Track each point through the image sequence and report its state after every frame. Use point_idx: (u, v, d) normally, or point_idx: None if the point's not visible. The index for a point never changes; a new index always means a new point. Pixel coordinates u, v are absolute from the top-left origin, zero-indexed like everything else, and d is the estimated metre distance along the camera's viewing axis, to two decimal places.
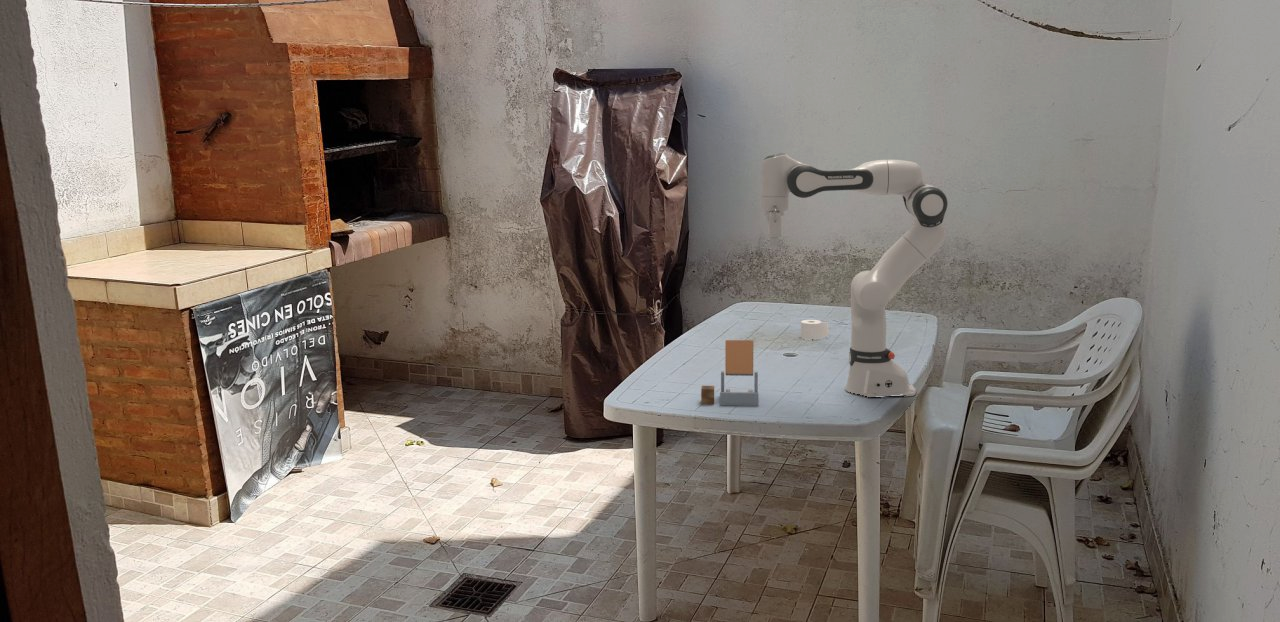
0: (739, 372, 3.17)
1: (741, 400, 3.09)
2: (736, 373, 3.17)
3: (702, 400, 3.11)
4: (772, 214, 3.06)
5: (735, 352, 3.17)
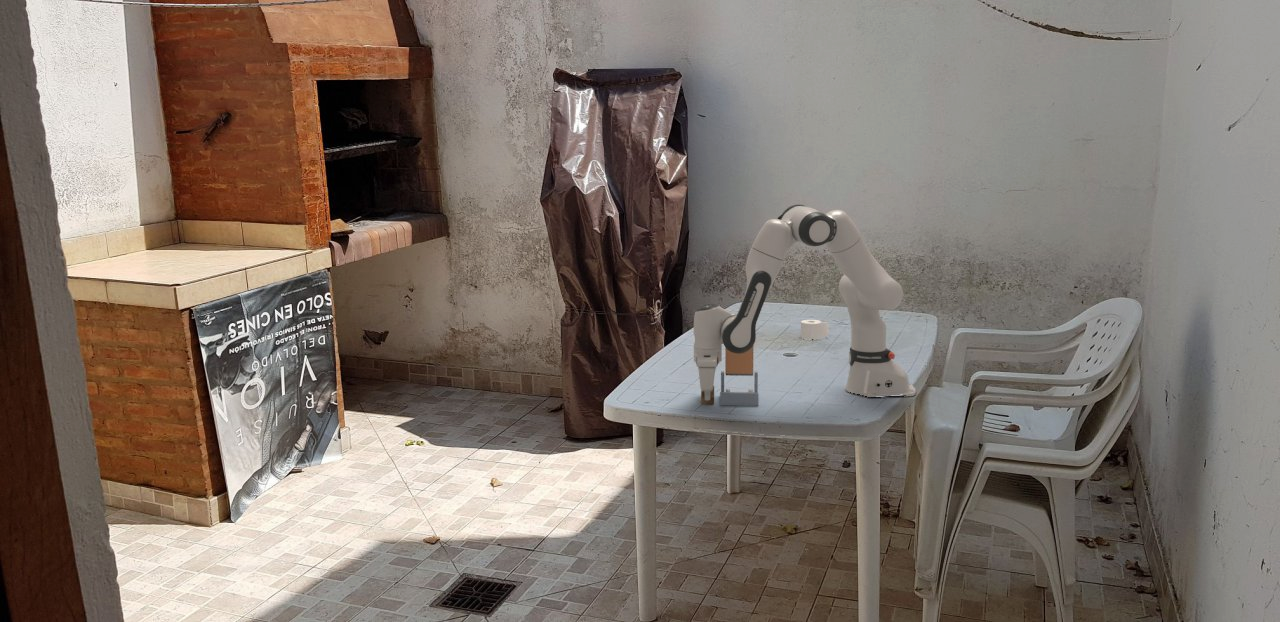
0: (739, 372, 3.17)
1: (741, 400, 3.09)
2: (736, 373, 3.17)
3: (702, 400, 3.11)
4: None
5: None
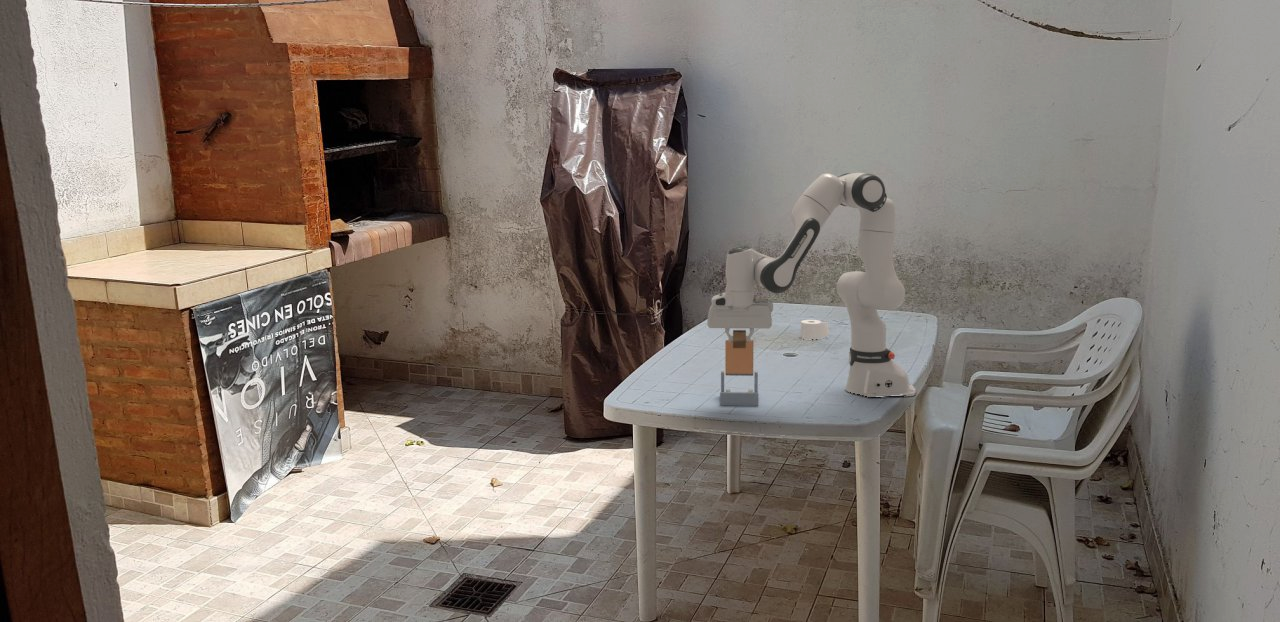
0: (739, 372, 3.17)
1: (741, 400, 3.09)
2: (736, 373, 3.17)
3: None
4: (767, 306, 3.05)
5: (735, 352, 3.17)
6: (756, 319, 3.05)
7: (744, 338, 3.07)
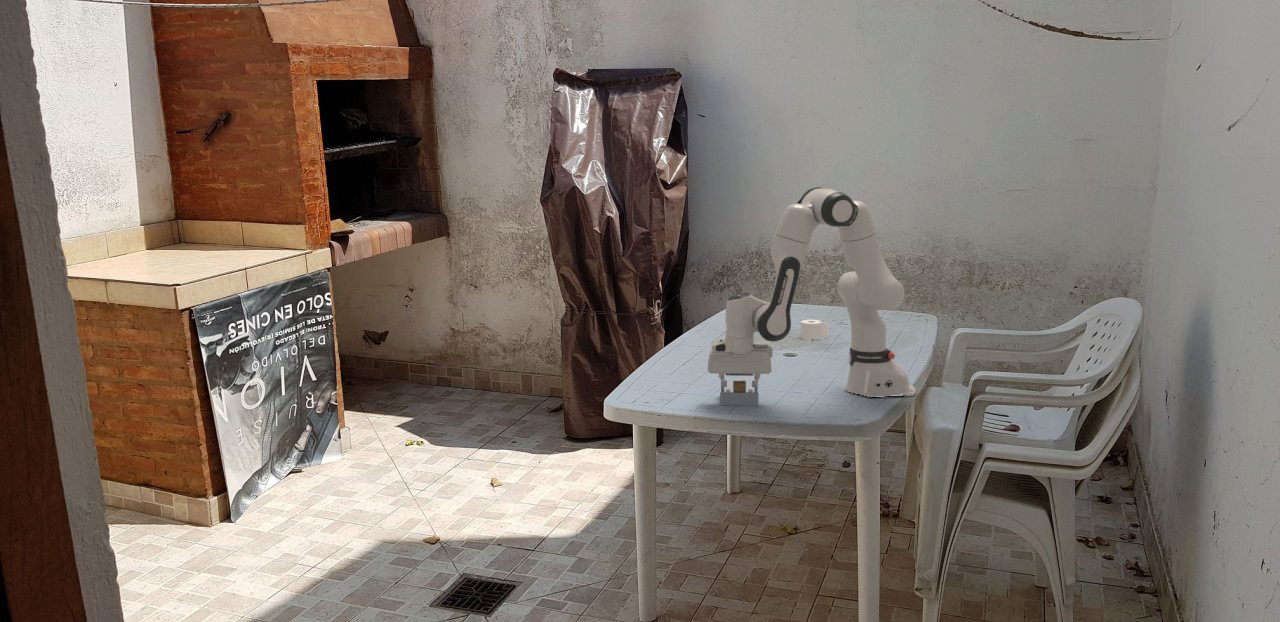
0: None
1: (741, 400, 3.09)
2: None
3: None
4: (767, 351, 3.08)
5: None
6: (756, 364, 3.08)
7: (744, 389, 3.10)
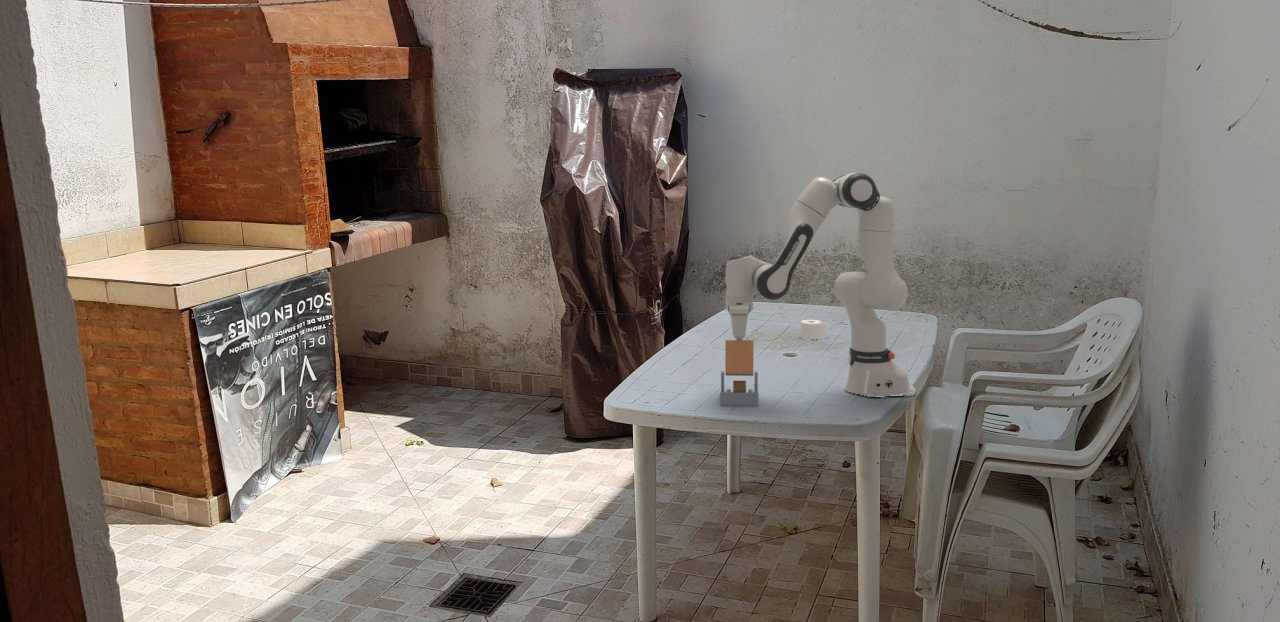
0: (739, 372, 3.17)
1: (741, 400, 3.09)
2: (736, 373, 3.17)
3: None
4: None
5: (735, 353, 3.17)
6: None
7: (744, 389, 3.10)
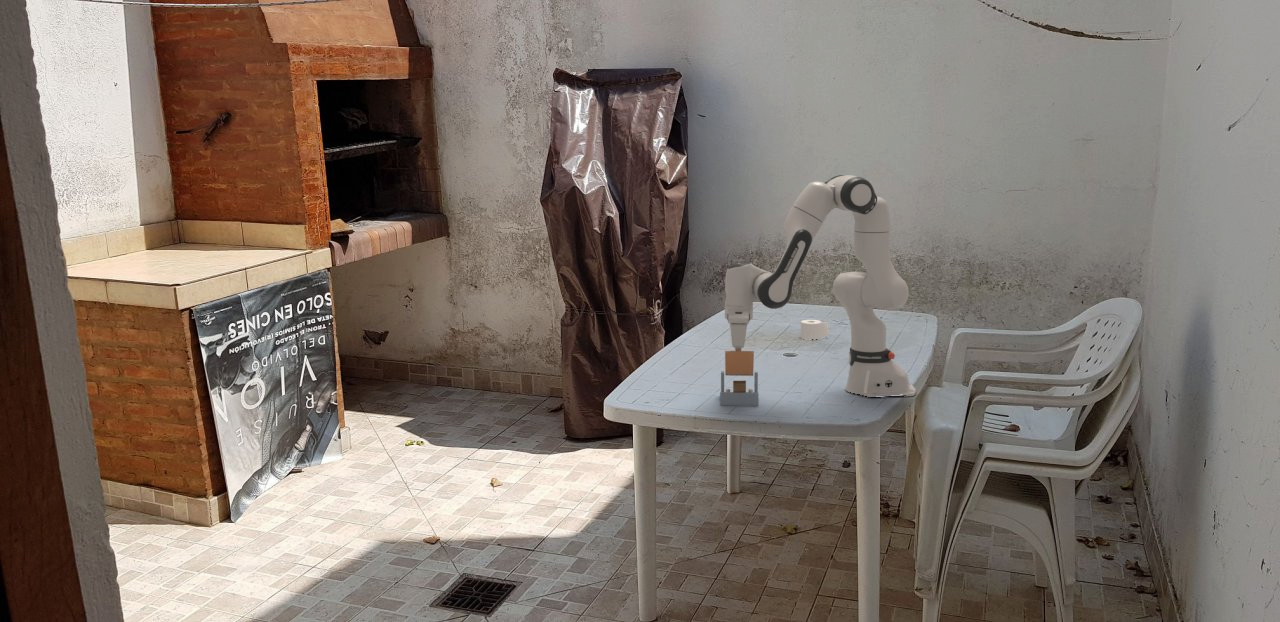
0: (739, 374, 3.17)
1: (741, 400, 3.09)
2: (736, 374, 3.17)
3: None
4: None
5: (735, 361, 3.12)
6: None
7: (744, 389, 3.10)
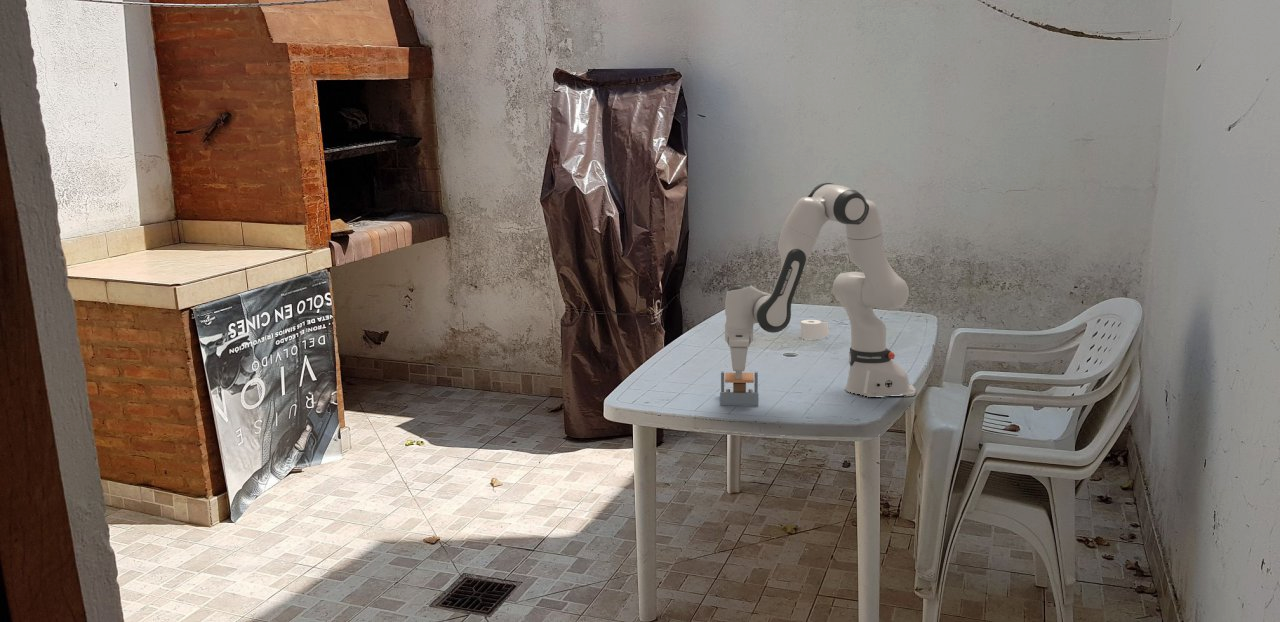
0: None
1: (741, 400, 3.09)
2: None
3: None
4: None
5: None
6: None
7: (744, 389, 3.10)
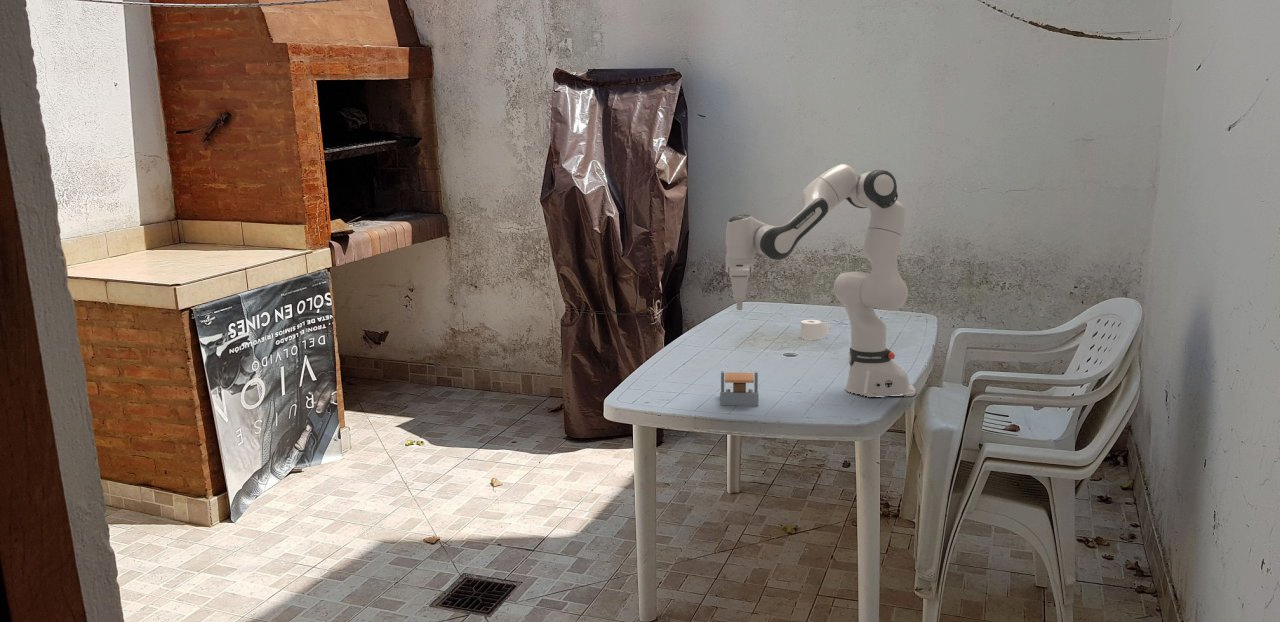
0: None
1: (741, 400, 3.09)
2: None
3: None
4: None
5: None
6: None
7: (744, 389, 3.10)
